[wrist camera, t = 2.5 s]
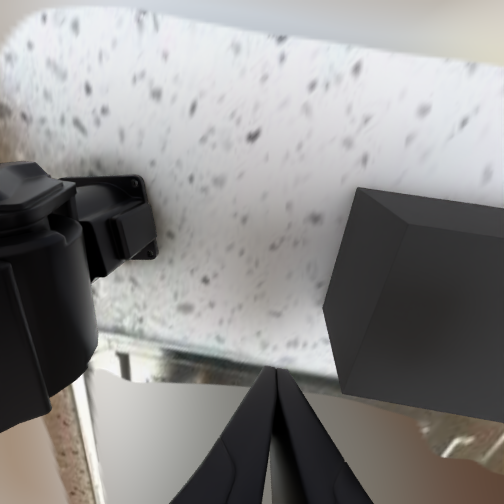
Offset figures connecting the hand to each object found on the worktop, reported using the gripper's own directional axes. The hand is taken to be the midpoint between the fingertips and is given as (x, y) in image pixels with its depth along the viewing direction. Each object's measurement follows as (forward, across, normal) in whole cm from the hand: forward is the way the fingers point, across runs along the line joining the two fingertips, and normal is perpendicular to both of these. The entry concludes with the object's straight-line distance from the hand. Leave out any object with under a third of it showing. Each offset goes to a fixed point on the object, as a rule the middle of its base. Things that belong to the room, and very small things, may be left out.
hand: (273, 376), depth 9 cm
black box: (+12, +10, 0) cm, 16 cm away
